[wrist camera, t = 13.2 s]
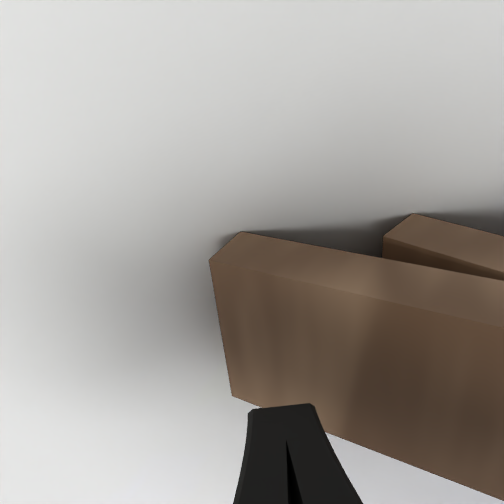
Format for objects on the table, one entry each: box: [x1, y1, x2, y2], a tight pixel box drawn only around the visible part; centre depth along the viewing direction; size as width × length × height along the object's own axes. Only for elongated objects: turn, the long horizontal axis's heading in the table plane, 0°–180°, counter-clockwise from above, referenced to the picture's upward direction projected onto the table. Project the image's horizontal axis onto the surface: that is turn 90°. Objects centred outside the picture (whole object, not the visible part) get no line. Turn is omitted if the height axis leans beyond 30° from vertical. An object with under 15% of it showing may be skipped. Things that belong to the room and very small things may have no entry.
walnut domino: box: [209, 232, 504, 501], centre depth 12 cm, size 2×5×8 cm
